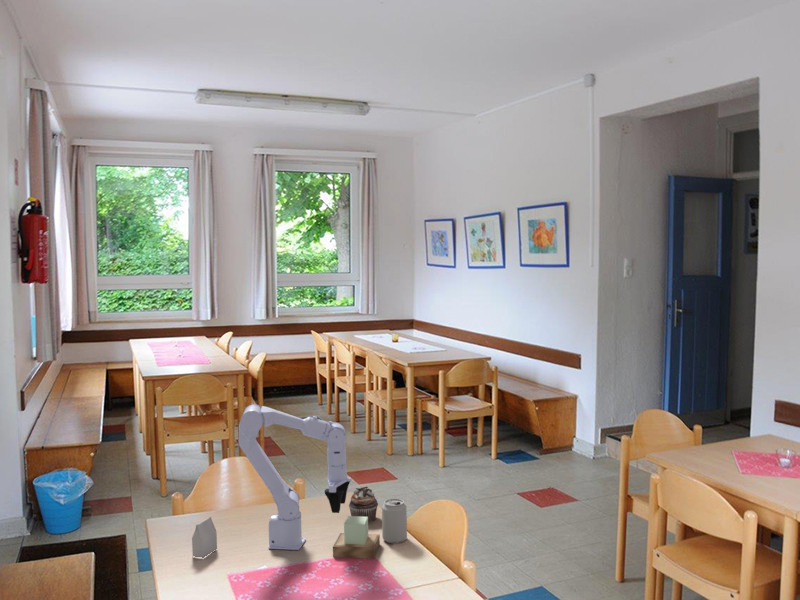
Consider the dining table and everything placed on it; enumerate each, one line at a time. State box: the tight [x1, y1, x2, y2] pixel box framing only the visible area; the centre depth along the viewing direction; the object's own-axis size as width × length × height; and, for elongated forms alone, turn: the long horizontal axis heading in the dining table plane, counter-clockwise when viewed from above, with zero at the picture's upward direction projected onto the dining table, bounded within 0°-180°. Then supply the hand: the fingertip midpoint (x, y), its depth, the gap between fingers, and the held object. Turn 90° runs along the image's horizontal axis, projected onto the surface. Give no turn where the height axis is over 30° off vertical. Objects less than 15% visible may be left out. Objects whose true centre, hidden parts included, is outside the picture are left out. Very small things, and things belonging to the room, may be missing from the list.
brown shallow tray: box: [332, 532, 381, 560], centre depth 208 cm, size 12×10×3 cm
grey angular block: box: [191, 516, 218, 558], centre depth 207 cm, size 4×7×10 cm, turn 160°
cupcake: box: [348, 486, 379, 523], centre depth 233 cm, size 10×10×10 cm
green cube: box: [343, 515, 369, 545], centre depth 208 cm, size 6×6×6 cm
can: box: [381, 498, 408, 544], centre depth 215 cm, size 8×8×12 cm
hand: (338, 507), depth 214 cm, fingers open, 7 cm apart
